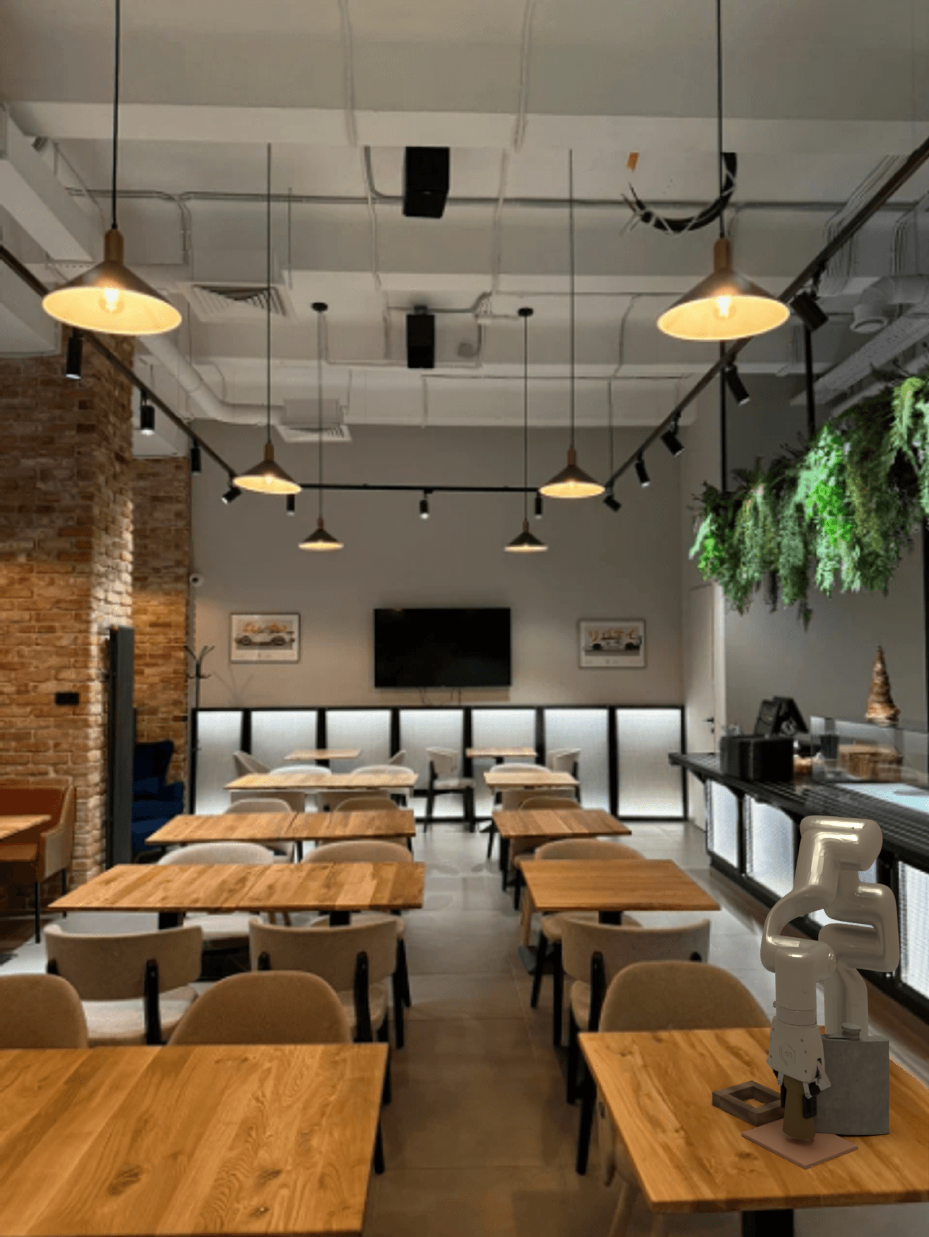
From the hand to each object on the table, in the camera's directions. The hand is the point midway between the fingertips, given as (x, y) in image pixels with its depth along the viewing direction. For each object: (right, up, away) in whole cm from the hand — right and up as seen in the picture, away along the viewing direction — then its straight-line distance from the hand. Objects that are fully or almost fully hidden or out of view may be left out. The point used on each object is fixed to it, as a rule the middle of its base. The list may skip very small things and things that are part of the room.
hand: (798, 1110), depth 181 cm
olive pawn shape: (0, -4, 0) cm, 4 cm away
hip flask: (+11, -6, +3) cm, 13 cm away
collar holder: (-4, -7, +14) cm, 16 cm away
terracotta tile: (0, -6, -1) cm, 6 cm away
